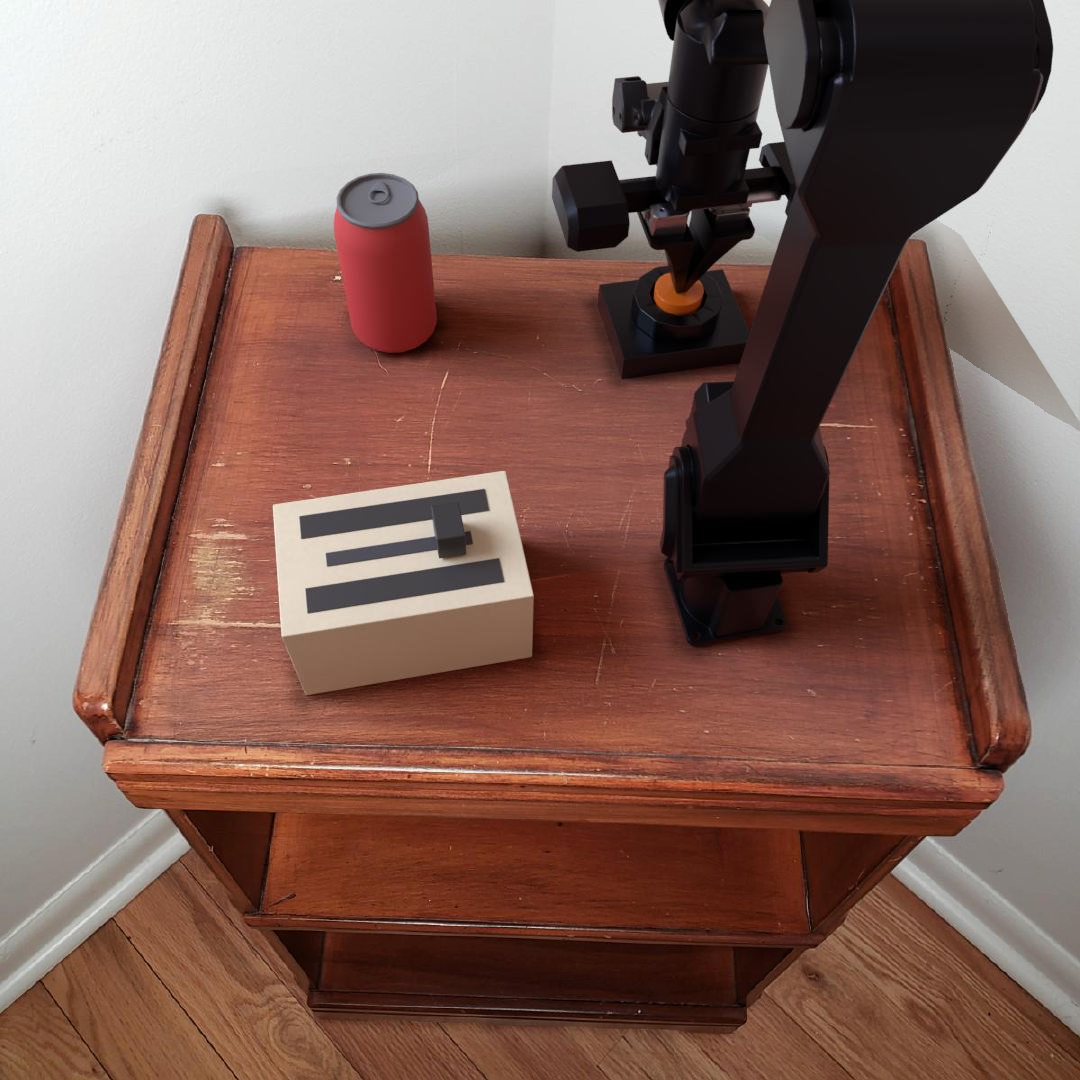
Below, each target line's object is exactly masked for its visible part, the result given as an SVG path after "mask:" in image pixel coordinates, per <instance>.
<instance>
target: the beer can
mask: <svg viewBox="0 0 1080 1080" xmlns="http://www.w3.org/2000/svg"><path fill="white" fill-rule="evenodd" d="M333 234H334V241H335V246H336V251H337V257H338V261H339V266H340V272H341V278H342V283H343V288H344V294H345V299H346V304H347V309H348V315H349V321H350V325H351V326H350V327H351V330H352V331H353V333H354V336H355V338H356V339H357V340H358V341H359V342H361V343H362V344H363V345H364V346H365V347H367V348H370V349H372V350H375V351H376V352H380V353H387V354H394V353H395V354H397V353H406V352H408V351H410V350H414V349H416V348H417V347H419V346H421V345H422V344H424V343H425V342H427V341H428V339H429V338H430V337H431V336H432V335H433V333H434V331H435V329H436V326H437V323H438V319H437V318H438V315H437V305H436V297H435V283H434V273H433V260H432V251H431V249H432V248H431V239H430V237H431V236H430V226H429V219H428V214H427V211H426V208H425V207H424V205H423V204H422V202H421V200H420V198H419V191H418V189H416V187H415V185H414V184H413V183H412V182H410V181H408V180H407V179H406V178H404V177H401V176H399V175H396V174H393V173H386V172H374V173H367V174H363V175H360V176H357V177H355V178H353V179H351V180H349V181H347V183H346V184H344V185H343V187H341V189H339V192H338V194H337V196H336V209H335V212H334V216H333Z"/></svg>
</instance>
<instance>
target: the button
mask: <svg viewBox="0 0 1080 1080" xmlns="http://www.w3.org/2000/svg"><path fill="white" fill-rule="evenodd" d="M703 293H704V288H703V285H702V283H701V282H700V281H699V280H698V281H697V282H696V283H695V284H694V285H693V286H692V287H691V288H690V289H689V290H688V291H687V292H683V293H682V292H681V293H676V292H675V289H674V286H673V283H672V279H671V275H670V273H667V274H664V275H663V276H661V277H660V278H659V279H658V280H657V282H656V284H655V291H654V297H653V304H655V305H656V306H657V307H658V308H660V309H661V310H662V311H664V312H667V313H671V314H675V315H684V314H692V313H695V312H696V311H698V310H699V309H700V308H701V303H702V298H703Z"/></svg>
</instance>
